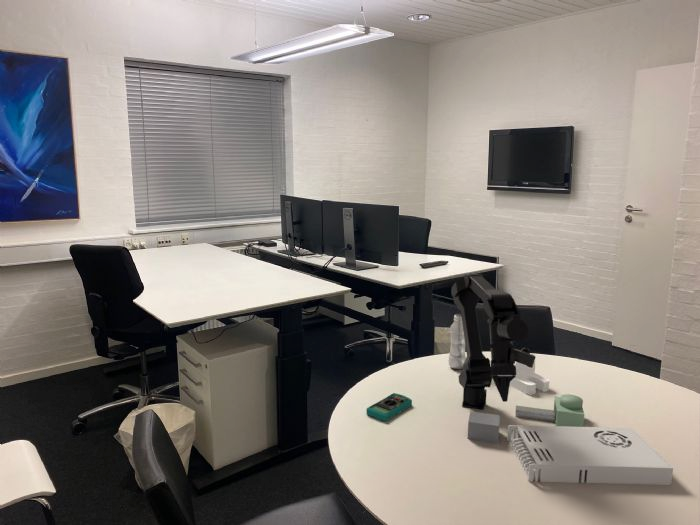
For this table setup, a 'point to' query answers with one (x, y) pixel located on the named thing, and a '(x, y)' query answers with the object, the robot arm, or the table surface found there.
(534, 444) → the power supply unit
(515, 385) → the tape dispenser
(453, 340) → the plastic bottle
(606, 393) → the table surface
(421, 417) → the table surface
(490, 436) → the chute
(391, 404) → the digital multimeter
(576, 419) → the green domed block
